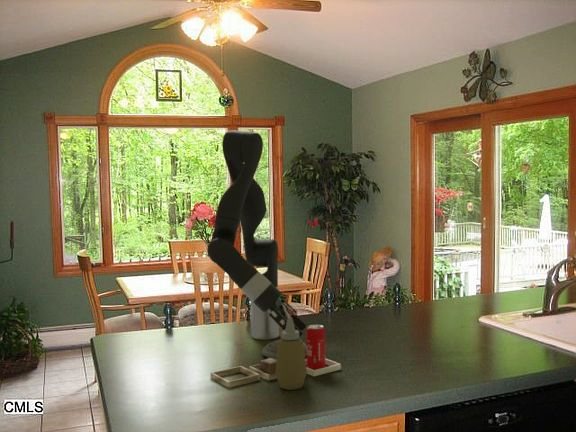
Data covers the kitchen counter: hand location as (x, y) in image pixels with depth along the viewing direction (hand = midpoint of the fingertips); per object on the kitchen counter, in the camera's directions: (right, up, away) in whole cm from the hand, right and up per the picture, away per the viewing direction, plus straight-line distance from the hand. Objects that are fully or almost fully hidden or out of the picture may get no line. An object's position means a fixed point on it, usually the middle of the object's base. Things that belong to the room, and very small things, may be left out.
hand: (302, 332), depth 170 cm
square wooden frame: (-8, -11, -3) cm, 14 cm away
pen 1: (-18, -11, -8) cm, 23 cm away
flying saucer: (-4, -10, +13) cm, 17 cm away
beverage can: (+4, -10, 0) cm, 11 cm away
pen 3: (+4, -10, 0) cm, 11 cm away
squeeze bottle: (-3, -11, -14) cm, 19 cm away
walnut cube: (-9, -11, -5) cm, 15 cm away
